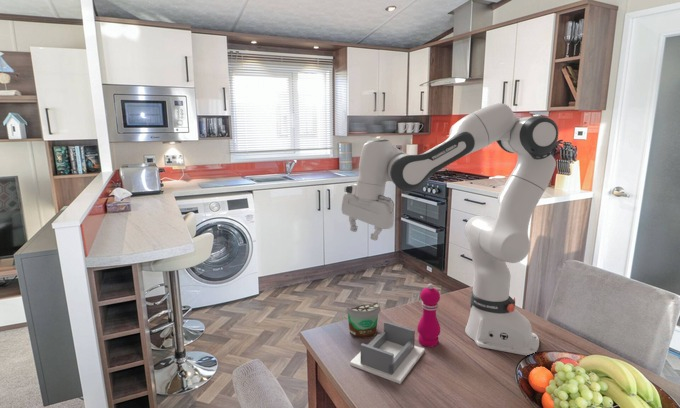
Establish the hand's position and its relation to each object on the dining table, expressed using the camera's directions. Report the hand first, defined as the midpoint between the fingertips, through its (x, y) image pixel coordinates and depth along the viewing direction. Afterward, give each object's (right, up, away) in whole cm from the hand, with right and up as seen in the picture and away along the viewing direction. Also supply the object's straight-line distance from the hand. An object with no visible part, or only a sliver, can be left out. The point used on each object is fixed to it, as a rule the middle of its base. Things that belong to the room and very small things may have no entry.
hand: (363, 235), depth 122 cm
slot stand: (+7, -37, -4) cm, 38 cm away
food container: (+2, -34, +9) cm, 35 cm away
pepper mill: (+21, -35, +4) cm, 41 cm away
